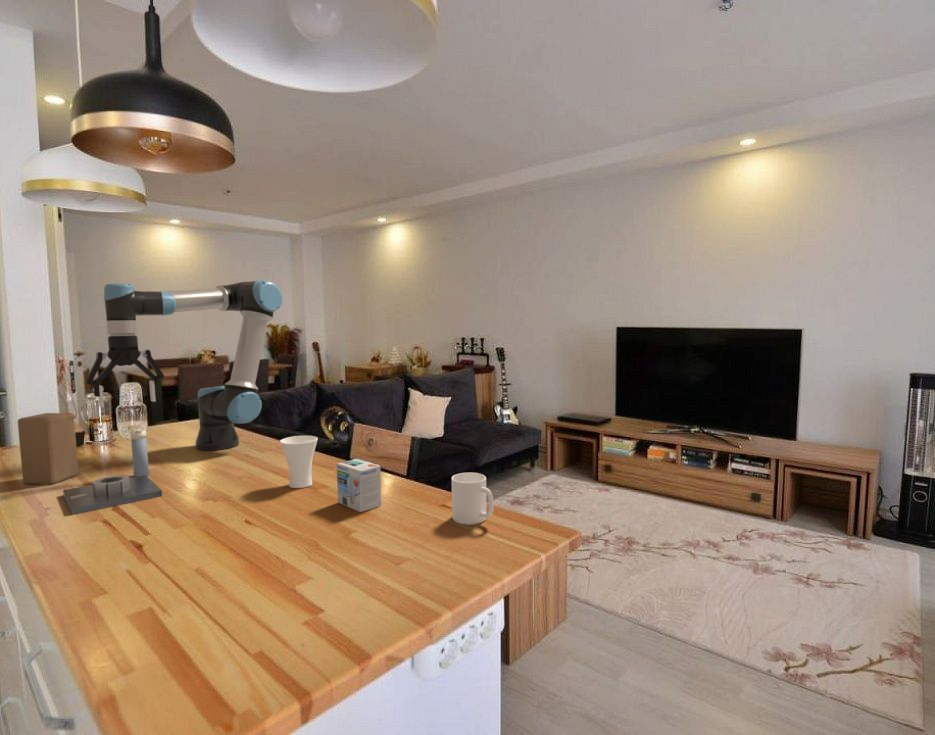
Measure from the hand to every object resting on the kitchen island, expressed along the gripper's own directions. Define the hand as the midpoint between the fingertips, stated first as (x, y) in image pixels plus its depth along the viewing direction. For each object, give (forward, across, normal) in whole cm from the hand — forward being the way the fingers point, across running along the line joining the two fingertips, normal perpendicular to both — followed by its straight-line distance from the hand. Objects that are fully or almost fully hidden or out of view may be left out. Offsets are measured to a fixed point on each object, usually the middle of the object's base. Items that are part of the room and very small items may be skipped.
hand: (128, 404), depth 161 cm
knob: (+23, -2, +1) cm, 23 cm away
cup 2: (+23, -48, +102) cm, 115 cm away
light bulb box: (+23, -35, +73) cm, 84 cm away
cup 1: (+23, -32, +46) cm, 61 cm away
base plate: (+23, +9, +17) cm, 30 cm away
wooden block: (+23, +19, -14) cm, 33 cm away
